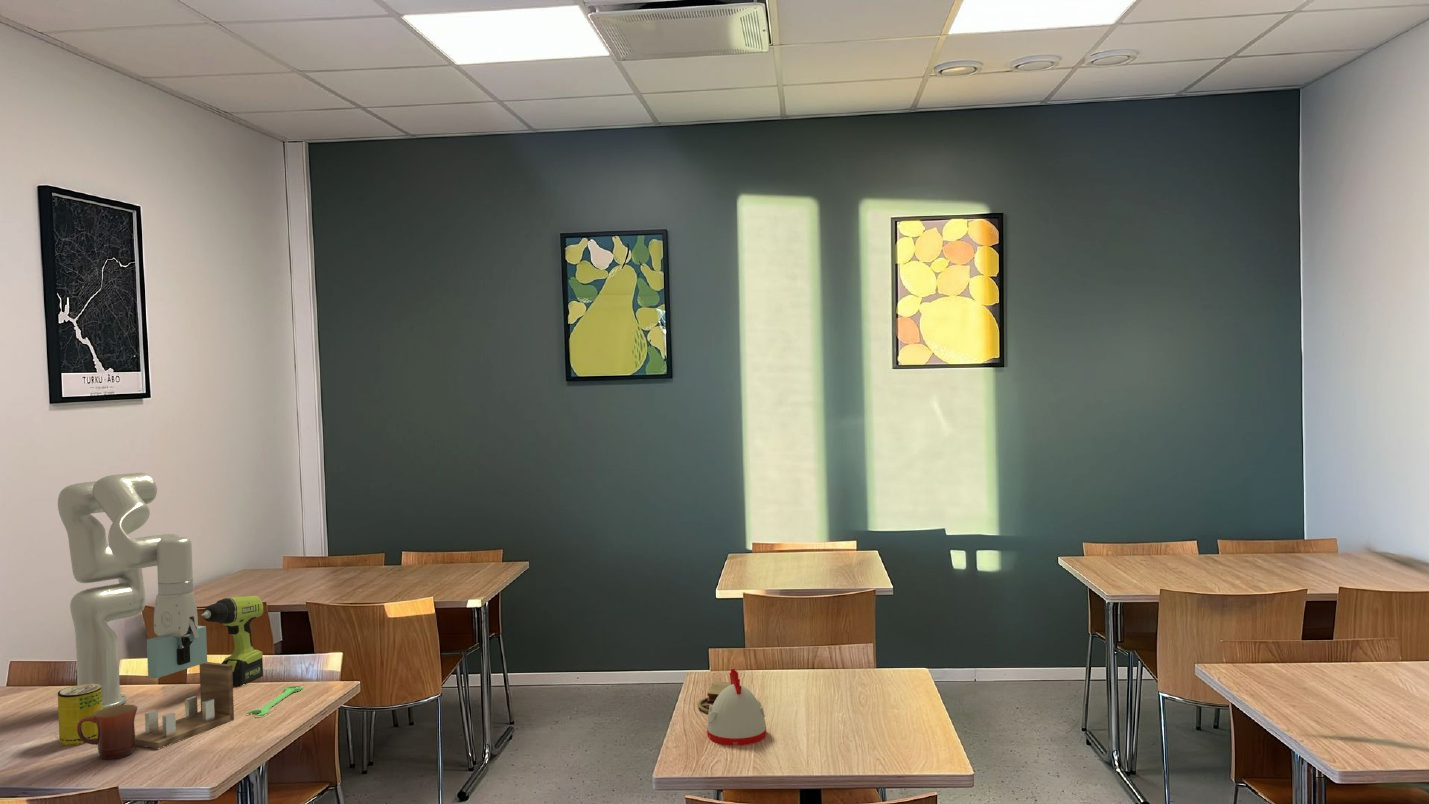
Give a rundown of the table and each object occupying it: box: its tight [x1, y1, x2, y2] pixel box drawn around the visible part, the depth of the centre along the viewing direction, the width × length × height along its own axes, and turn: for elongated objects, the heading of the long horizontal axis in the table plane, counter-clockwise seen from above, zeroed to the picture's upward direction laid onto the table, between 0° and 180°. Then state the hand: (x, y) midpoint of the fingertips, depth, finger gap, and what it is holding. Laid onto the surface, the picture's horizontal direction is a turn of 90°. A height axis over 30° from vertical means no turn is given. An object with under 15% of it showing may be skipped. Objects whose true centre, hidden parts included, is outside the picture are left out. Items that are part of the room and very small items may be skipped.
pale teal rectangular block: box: [146, 625, 208, 679], centre depth 240 cm, size 14×3×9 cm, turn 158°
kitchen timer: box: [706, 668, 767, 746], centre depth 231 cm, size 14×14×15 cm
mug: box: [77, 704, 138, 760], centre depth 226 cm, size 12×9×10 cm
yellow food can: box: [57, 684, 102, 747], centre depth 238 cm, size 9×9×12 cm
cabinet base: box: [135, 661, 235, 749], centre depth 241 cm, size 21×10×14 cm, turn 158°
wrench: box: [246, 685, 304, 717], centre depth 262 cm, size 25×2×5 cm
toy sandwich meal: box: [697, 681, 731, 714], centre depth 251 cm, size 12×14×5 cm
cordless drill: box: [200, 595, 264, 687], centre depth 278 cm, size 23×7×25 cm, turn 170°
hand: (178, 662), depth 240 cm, fingers closed on pale teal rectangular block, 3 cm apart
